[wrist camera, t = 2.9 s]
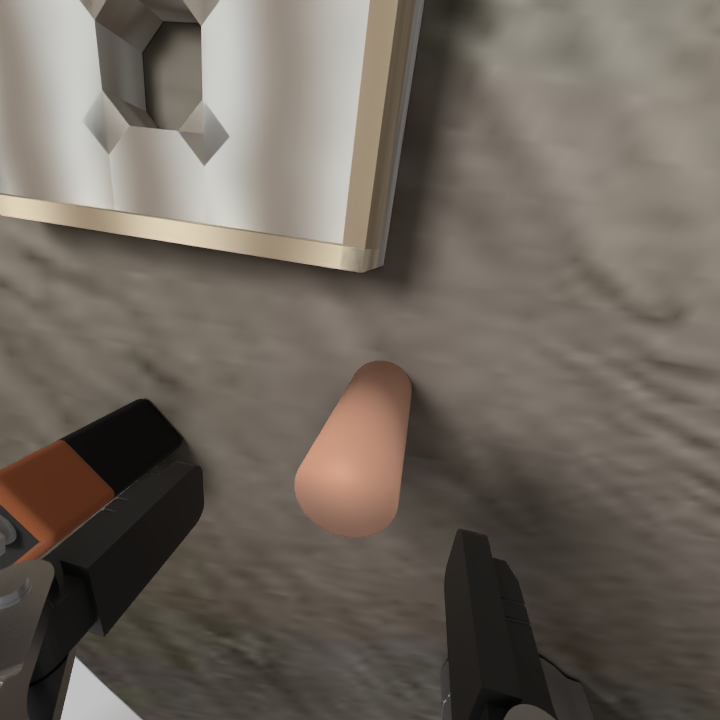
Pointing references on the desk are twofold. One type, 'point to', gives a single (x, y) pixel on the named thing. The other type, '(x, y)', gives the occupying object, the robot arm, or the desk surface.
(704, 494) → the desk surface
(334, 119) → the box
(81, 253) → the desk surface
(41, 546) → the battery
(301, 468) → the peg
